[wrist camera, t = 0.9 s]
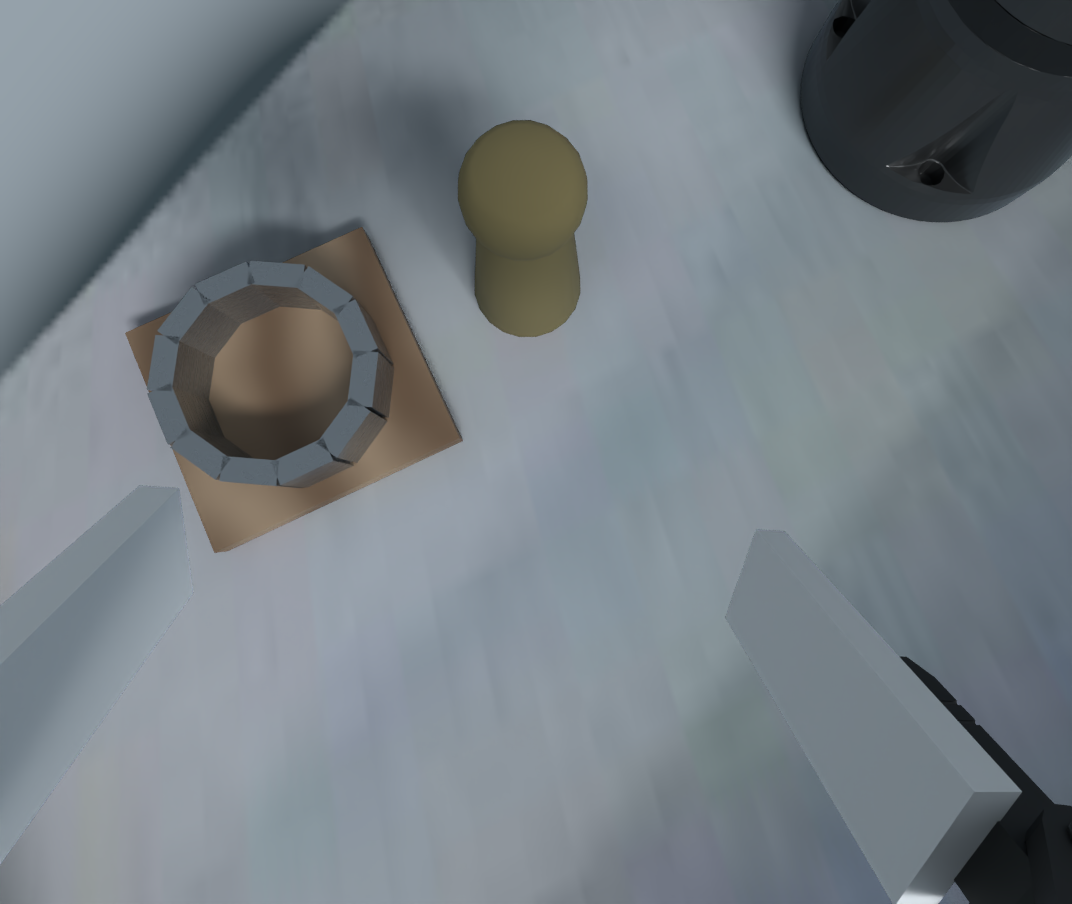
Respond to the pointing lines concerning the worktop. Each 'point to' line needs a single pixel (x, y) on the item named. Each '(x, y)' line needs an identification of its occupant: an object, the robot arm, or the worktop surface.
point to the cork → (524, 225)
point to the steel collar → (206, 330)
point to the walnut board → (308, 397)
